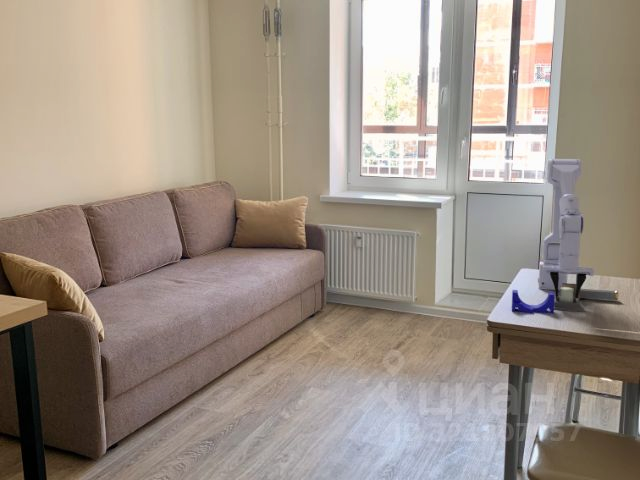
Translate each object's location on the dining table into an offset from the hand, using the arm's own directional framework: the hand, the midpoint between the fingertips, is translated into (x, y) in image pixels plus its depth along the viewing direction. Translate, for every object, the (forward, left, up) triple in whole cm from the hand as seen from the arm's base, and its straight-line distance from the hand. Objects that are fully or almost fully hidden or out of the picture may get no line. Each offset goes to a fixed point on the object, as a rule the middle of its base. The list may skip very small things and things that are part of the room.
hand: (566, 296), depth 207 cm
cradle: (0, 0, -3) cm, 3 cm away
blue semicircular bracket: (-10, -9, -3) cm, 14 cm away
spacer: (0, 0, -2) cm, 3 cm away
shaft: (+9, +10, -3) cm, 14 cm away
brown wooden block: (+2, +10, -3) cm, 11 cm away
